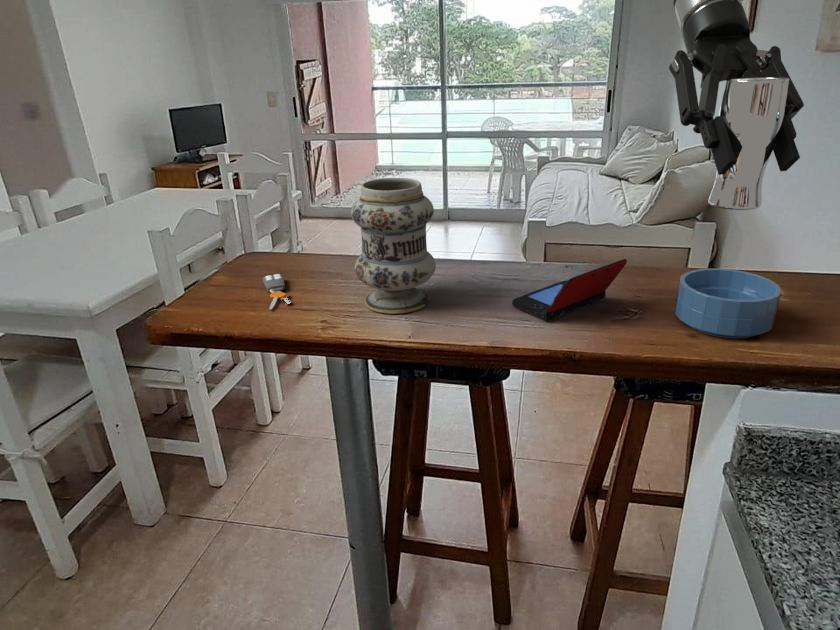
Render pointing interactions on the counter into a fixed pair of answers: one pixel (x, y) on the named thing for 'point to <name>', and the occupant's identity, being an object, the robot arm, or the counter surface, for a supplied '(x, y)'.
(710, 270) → the bowl
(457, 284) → the counter surface
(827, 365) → the counter surface
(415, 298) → the apothecary jar
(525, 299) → the handheld console
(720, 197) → the beer glass
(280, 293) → the key chain
